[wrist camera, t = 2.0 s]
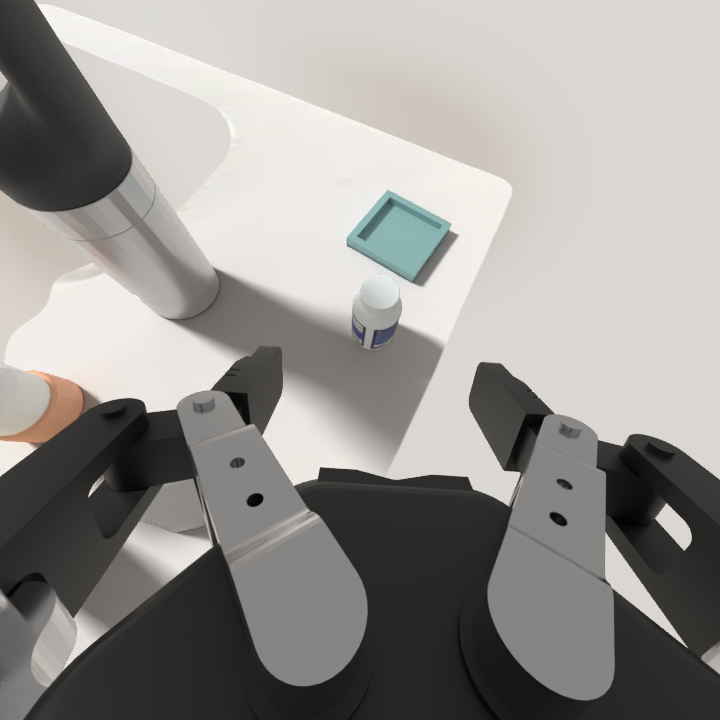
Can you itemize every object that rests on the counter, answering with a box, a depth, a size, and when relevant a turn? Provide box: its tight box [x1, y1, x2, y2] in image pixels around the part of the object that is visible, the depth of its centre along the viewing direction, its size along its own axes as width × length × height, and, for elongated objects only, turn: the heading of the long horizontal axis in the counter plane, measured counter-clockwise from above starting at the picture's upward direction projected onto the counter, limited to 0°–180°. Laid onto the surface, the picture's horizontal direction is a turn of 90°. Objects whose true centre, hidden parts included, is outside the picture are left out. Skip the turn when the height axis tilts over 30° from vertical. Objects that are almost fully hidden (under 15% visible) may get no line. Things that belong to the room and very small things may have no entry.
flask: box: [139, 479, 206, 533], centre depth 27 cm, size 7×7×10 cm
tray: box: [347, 190, 451, 282], centre depth 43 cm, size 11×11×2 cm
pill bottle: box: [352, 275, 402, 350], centre depth 34 cm, size 5×5×10 cm
